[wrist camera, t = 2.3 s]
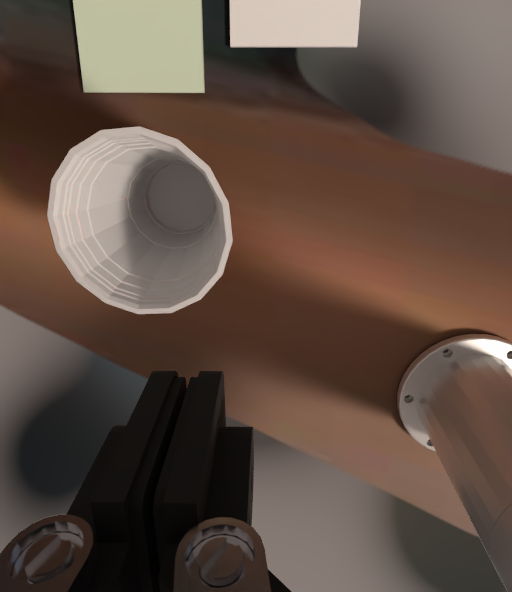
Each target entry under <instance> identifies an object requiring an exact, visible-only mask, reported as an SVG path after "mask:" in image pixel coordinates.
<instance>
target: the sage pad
mask: <svg viewBox="0 0 512 592" xmlns="http://www.w3.org/2000/svg"><path fill="white" fill-rule="evenodd" d="M73 6H74V15H75V23H76V31H77V40H78V48H79V56H80V65H81V73H82V81H83V90H84V92H85V93H205V87H204V56H203V25H202V0H73Z"/></svg>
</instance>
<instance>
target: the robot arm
mask: <svg viewBox="0 0 512 592" xmlns="http://www.w3.org/2000/svg"><path fill="white" fill-rule="evenodd" d="M445 349H446V350H445ZM444 350H445V351H444ZM397 407H398V411H399V415H400V418H401V420H402V422H403V424H404V427H405V428H406V430H407V431H408V432H409V434H410V435H411V436H412V437H413V438H414V439H415V440H416V441H417V442H418V443H419V444H421V445H423V446H424V447H426V448H428V449H430V450H433V451H435V452H437V454H438V456H439V458H440V460H441V462H442V464H443V466H444V468H445V470H446V472H447V474H448V476H449V478H450V480H451V482H452V484H453V486H454V488H455V490H456V492H457V494H458V496H459V498H460V500H461V502H462V504H463V506H464V508H465V510H466V512H467V514H468V516H469V518H470V520H471V522H472V524H473V526H474V528H475V530H476V532H477V534H478V535H479V537H480V539H481V541H482V543H483V545H484V547H485V549H486V551H487V553H488V555H489V557H490V559H491V561H492V563H493V565H494V567H495V569H496V571H497V573H498V575H499V577H500V579H501V581H502V582H503V584H504V586H505V587H506V589H507V591H508V592H512V342H510V341H508V340H505V339H503V338H500V337H497V336H492V335H487V334H467V335H460V336H455V337H452V338H449V339H446V340H443V341H441V342H439V343H437V344H435V345H433V346H431V347H430V348H428V349H427V350H426V351H424V352H423V353H421V354H420V355H419V356H418V357H417V358H416V359H415V360H414V361H413V362H412V363H411V364H410V366H409V367H408V369H407V370H406V372H405V373H404V375H403V377H402V380H401V382H400V384H399V389H398V394H397ZM253 454H254V451H253V427H226V417H225V393H224V374H223V371H200V373H199V376H198V377H191V379H190V382H189V385H188V388H187V387H186V379H185V377H178V374H177V372H176V371H153V372H152V373H151V376H150V378H149V380H148V382H147V384H146V386H145V388H144V390H143V392H142V394H141V396H140V399H139V401H138V403H137V405H136V407H135V409H134V411H133V413H132V415H131V417H130V420H129V422H128V424H127V426H114V427H113V428H112V429H111V431H110V432H109V434H108V436H107V438H106V440H105V442H104V444H103V446H102V448H101V450H100V452H99V453H98V455H97V457H96V459H95V461H94V463H93V465H92V467H91V469H90V471H89V472H88V475H87V476H86V478H85V480H84V482H83V484H82V486H81V488H80V490H79V492H78V494H77V495H76V498H75V500H74V501H73V503H72V505H71V507H70V509H69V511H68V513H67V515H56V516H51V517H47V518H44V519H42V520H39V521H37V522H35V523H33V524H31V525H30V526H28V527H27V528H25V529H24V530H23V531H21V532H19V533H18V534H17V535H16V536H15V537H14V538H13V539H12V540H11V541H10V542H9V543H8V544H7V546H6V547H5V548H4V549H3V551H2V552H1V553H0V592H291V591H290V590H289V589H288V588H287V587H286V586H285V585H284V584H283V583H282V582H281V581H279V579H277V578H276V577H275V576H274V575H273V574H272V573H271V572H270V571H269V570H268V568H267V563H266V555H265V549H264V546H263V543H262V540H261V537H260V536H259V535H258V533H257V532H256V531H255V530H254V528H253V527H251V523H252V502H253V470H254V467H253V466H254V460H253V459H254V455H253Z"/></svg>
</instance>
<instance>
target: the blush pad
mask: <svg viewBox="0 0 512 592" xmlns="http://www.w3.org/2000/svg"><path fill="white" fill-rule="evenodd" d="M360 1H361V0H230V47H231V48H355V47H357V41H358V28H359V15H360Z"/></svg>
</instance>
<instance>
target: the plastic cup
mask: <svg viewBox="0 0 512 592" xmlns="http://www.w3.org/2000/svg"><path fill="white" fill-rule="evenodd" d="M47 217H48V221H49V225H50V229H51V232H52V236H53V240H54V244H55V248H56V251H57V253H58V254H59V256H60V257H61V259H62V260H63V262H64V263H65V265H66V266H67V268H68V269H69V271H70V272H71V274H72V275H73V276H74V278H75V279H76V281H77V282H78V283H80V284H81V285H82V286H83V287H85V288H86V289H87V290H89V291H90V292H91V293H93V294H94V295H95V296H96V297H98V298H99V299H100V300H102V301H103V302H104V303H106V304H109V305H112V306H115V307H118V308H121V309H124V310H127V311H130V312H133V313H136V314H159V313H173V312H175V311H177V310H179V309H181V308H183V307H186V306H188V305H190V304H192V303H194V302H197V301H199V300H201V299H202V298H203V296H204V295H205V294H206V293H207V292H208V291H209V290H210V288H211V287H212V286H213V285H214V284H215V283H216V282H217V280H218V279H219V278H220V277H221V276H222V275H223V272H224V268H225V265H226V262H227V258H228V255H229V252H230V248H231V245H232V242H233V239H232V229H231V220H230V211H229V203H228V201H227V199H226V197H225V195H224V193H223V191H222V190H221V188H220V186H219V184H218V182H217V180H216V178H215V176H214V174H213V172H212V171H211V169H210V167H209V166H208V165H207V164H206V163H204V162H203V161H202V160H201V159H200V158H199V157H198V156H196V155H195V154H194V153H193V152H192V151H191V150H189V149H188V148H187V147H186V146H185V145H184V144H183V143H181V142H180V141H179V140H178V139H175V138H172V137H169V136H166V135H163V134H160V133H157V132H154V131H151V130H149V129H146V128H143V127H140V126H138V127H128V128H117V129H107V130H100V131H99V132H97V133H96V134H94V135H92V136H91V137H89V138H88V139H86V140H84V141H83V142H81V143H79V144H78V145H76V146H75V147H73V148H71V149H70V150H69V152H68V154H67V155H66V157H65V159H64V160H63V162H62V163H61V165H60V167H59V168H58V170H57V172H56V173H55V175H54V176H53V178H52V180H51V188H50V196H49V204H48V213H47Z"/></svg>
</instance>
